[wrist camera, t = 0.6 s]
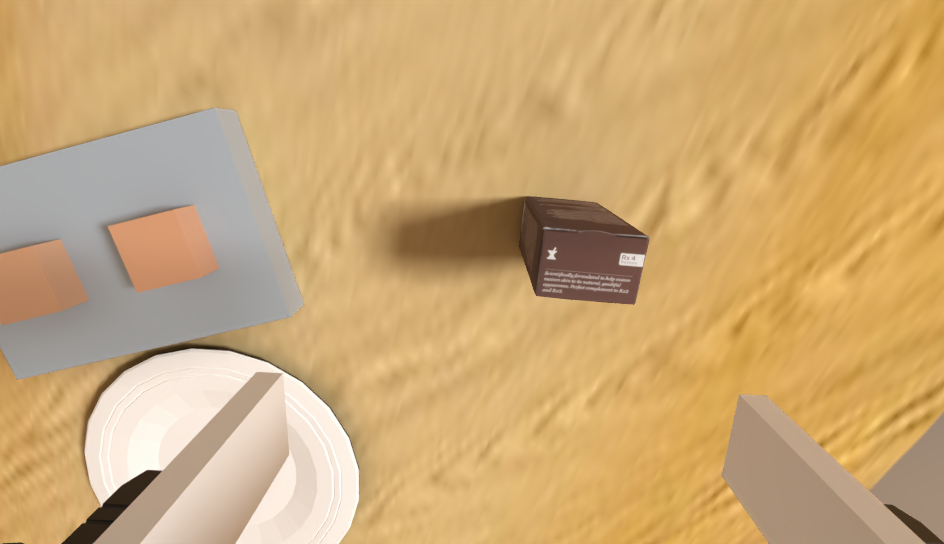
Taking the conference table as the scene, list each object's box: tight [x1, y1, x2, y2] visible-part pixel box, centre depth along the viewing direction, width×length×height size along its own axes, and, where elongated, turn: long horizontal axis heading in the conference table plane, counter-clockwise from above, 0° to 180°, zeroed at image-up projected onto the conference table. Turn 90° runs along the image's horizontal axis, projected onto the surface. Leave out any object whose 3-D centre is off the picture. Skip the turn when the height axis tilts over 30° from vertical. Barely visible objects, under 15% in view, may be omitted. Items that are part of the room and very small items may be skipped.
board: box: [0, 108, 304, 380], centre depth 38 cm, size 16×24×3 cm, turn 104°
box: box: [519, 196, 649, 305], centre depth 33 cm, size 6×4×12 cm
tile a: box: [108, 205, 220, 293], centre depth 35 cm, size 5×5×2 cm
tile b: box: [0, 239, 89, 325], centre depth 36 cm, size 5×5×2 cm
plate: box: [84, 348, 359, 544], centre depth 45 cm, size 25×25×2 cm
